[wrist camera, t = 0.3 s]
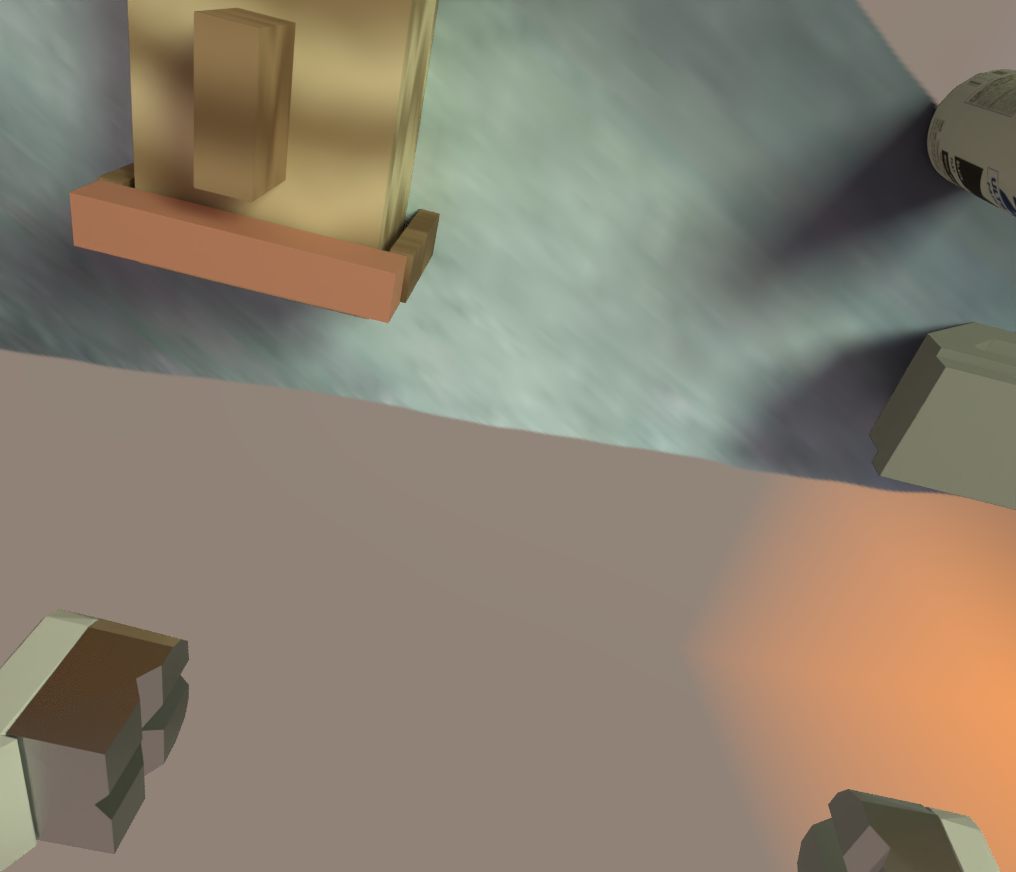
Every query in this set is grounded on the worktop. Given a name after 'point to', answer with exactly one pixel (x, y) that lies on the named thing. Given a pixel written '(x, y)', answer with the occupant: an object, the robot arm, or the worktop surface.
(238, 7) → the toolbox lid
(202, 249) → the bar
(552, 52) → the worktop surface
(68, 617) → the robot arm
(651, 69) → the worktop surface
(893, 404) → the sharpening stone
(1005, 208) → the spray can
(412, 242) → the toolbox
